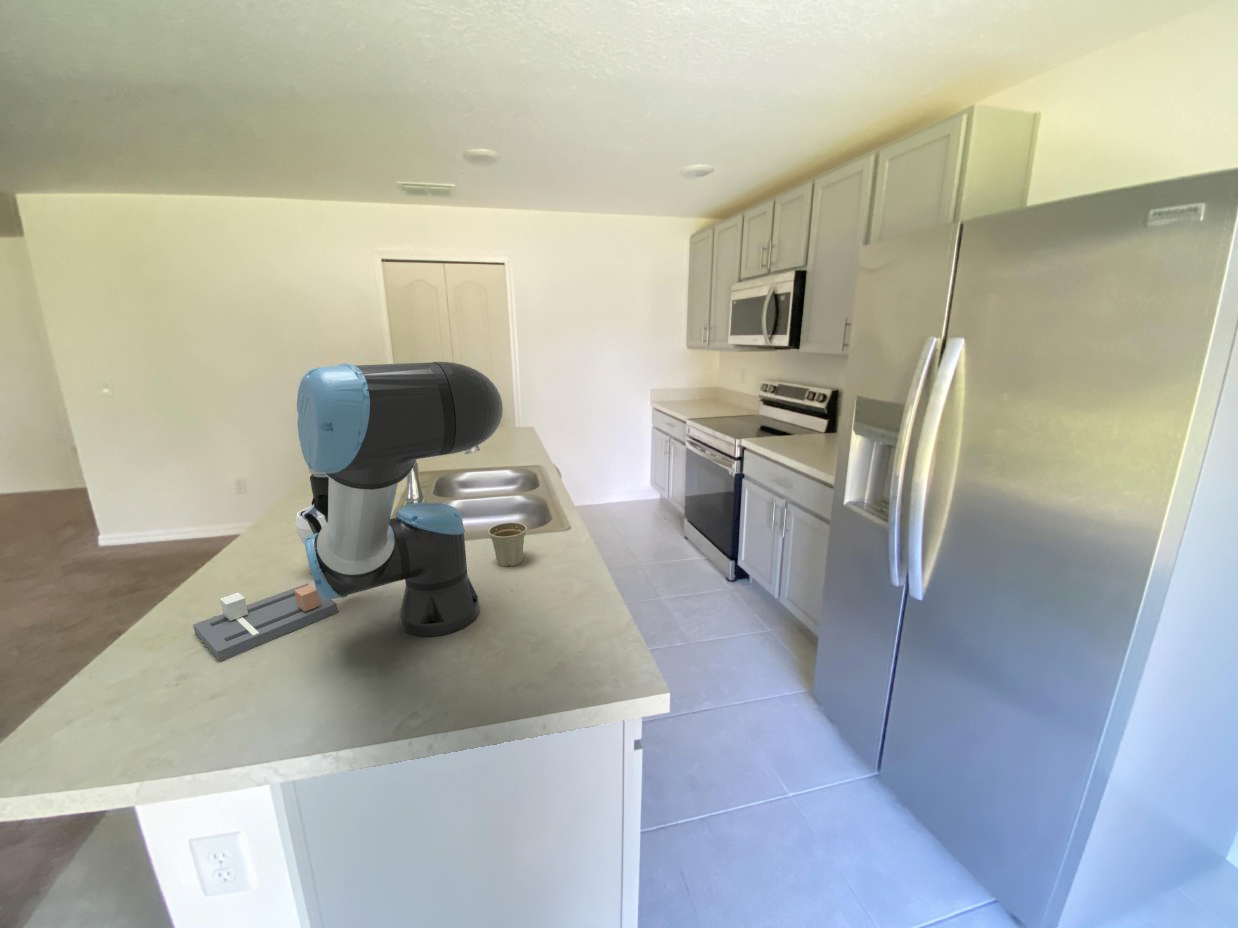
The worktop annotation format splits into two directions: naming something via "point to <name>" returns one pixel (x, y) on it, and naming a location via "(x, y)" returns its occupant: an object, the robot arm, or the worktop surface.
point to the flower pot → (508, 542)
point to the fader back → (234, 606)
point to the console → (259, 624)
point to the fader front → (307, 598)
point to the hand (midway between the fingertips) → (347, 578)
